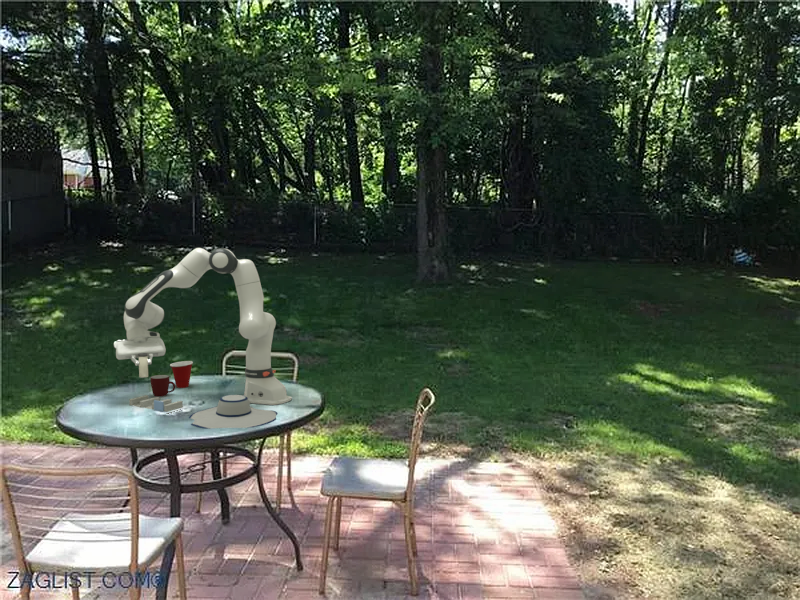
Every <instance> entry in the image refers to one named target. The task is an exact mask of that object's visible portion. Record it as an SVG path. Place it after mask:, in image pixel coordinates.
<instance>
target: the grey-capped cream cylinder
mask: <svg viewBox="0 0 800 600" xmlns="http://www.w3.org/2000/svg"><path fill="white" fill-rule="evenodd" d="M138 356H139V358H138V360H139V366H138V373H139V374H138V376H139V378H142V379H143V378H149V365H148V359H149V357H148V353H139V354H138Z"/></svg>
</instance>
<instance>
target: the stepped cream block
mask: <svg viewBox="0 0 800 600" xmlns="http://www.w3.org/2000/svg"><path fill="white" fill-rule="evenodd" d="M149 397H150V396H149V395H147V394H145V395H142V396H138V397H132V398H130V399H129V400H128V402H129V406H132V407H138V408H142V409H148V410H154V411H158V412H167V413H165V414H169V413H172V412H175V411H178V410H181V409H182V408H183V407H184V404H183V402H184V401H182V400H178V401H175V402H172V400H173V399H171V398H167V399H166V398H165V399H161V397H156V396H153V397H150V398H149ZM169 415H170V414H169Z"/></svg>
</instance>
